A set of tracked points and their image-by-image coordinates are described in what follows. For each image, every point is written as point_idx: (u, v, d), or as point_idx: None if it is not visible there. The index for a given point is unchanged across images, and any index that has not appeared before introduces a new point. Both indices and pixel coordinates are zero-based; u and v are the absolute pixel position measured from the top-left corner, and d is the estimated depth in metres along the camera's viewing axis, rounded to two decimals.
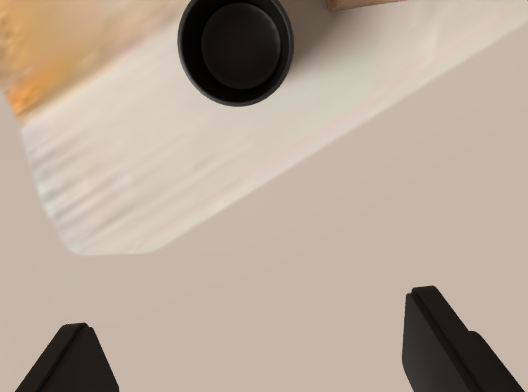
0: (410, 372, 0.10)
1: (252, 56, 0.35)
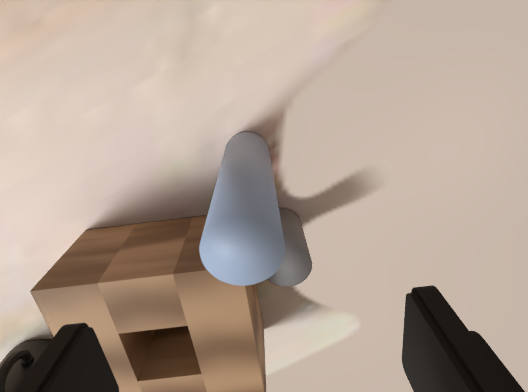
0: (410, 372, 0.10)
1: None
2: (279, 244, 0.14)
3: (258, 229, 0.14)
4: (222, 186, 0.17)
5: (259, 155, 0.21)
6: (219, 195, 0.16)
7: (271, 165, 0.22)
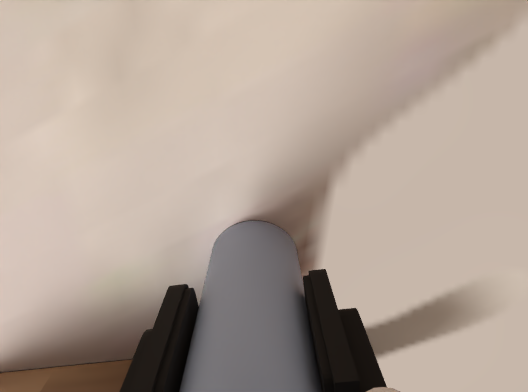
0: None
1: None
2: None
3: None
4: None
5: (286, 333, 0.08)
6: None
7: None
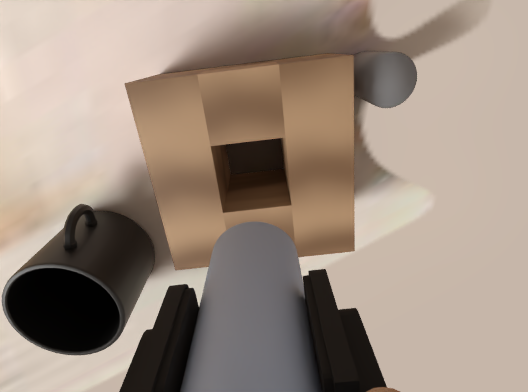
0: None
1: None
2: None
3: None
4: None
5: (286, 334, 0.08)
6: None
7: None
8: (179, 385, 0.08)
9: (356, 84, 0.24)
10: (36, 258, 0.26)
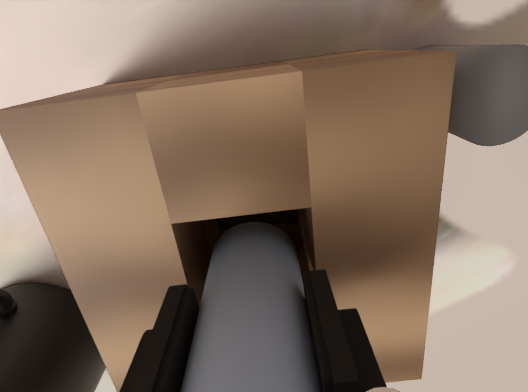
0: None
1: None
2: None
3: None
4: None
5: (287, 335, 0.08)
6: None
7: None
8: (179, 385, 0.08)
9: None
10: None
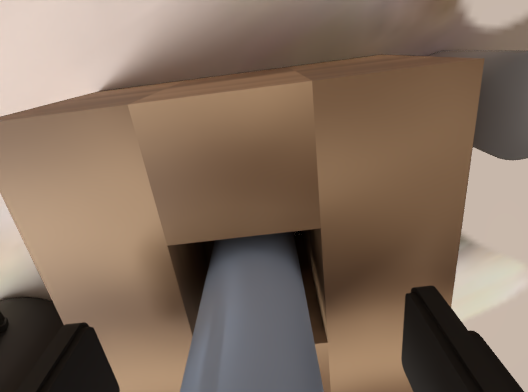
0: (409, 372, 0.10)
1: None
2: None
3: None
4: (212, 315, 0.09)
5: None
6: (205, 346, 0.08)
7: (293, 234, 0.15)
8: None
9: None
10: None
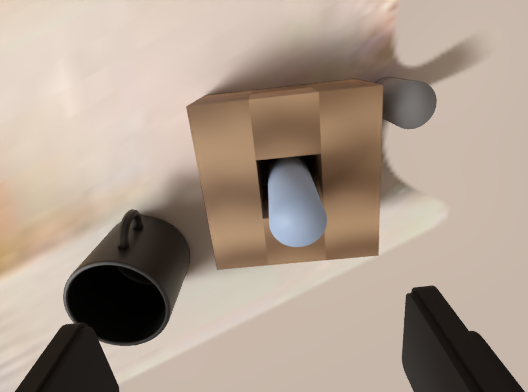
0: (410, 372, 0.10)
1: None
2: (323, 217, 0.21)
3: (310, 206, 0.20)
4: (279, 180, 0.24)
5: (300, 159, 0.28)
6: (278, 185, 0.23)
7: None
8: None
9: None
10: (95, 256, 0.29)
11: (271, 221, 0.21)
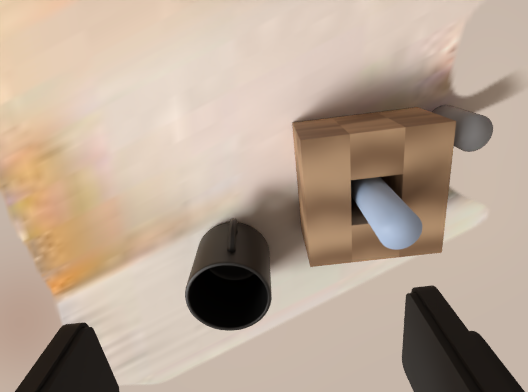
0: (410, 372, 0.10)
1: None
2: (419, 227, 0.27)
3: (410, 219, 0.27)
4: (375, 196, 0.30)
5: (379, 177, 0.34)
6: (378, 202, 0.29)
7: None
8: None
9: None
10: (211, 258, 0.35)
11: (380, 231, 0.27)
